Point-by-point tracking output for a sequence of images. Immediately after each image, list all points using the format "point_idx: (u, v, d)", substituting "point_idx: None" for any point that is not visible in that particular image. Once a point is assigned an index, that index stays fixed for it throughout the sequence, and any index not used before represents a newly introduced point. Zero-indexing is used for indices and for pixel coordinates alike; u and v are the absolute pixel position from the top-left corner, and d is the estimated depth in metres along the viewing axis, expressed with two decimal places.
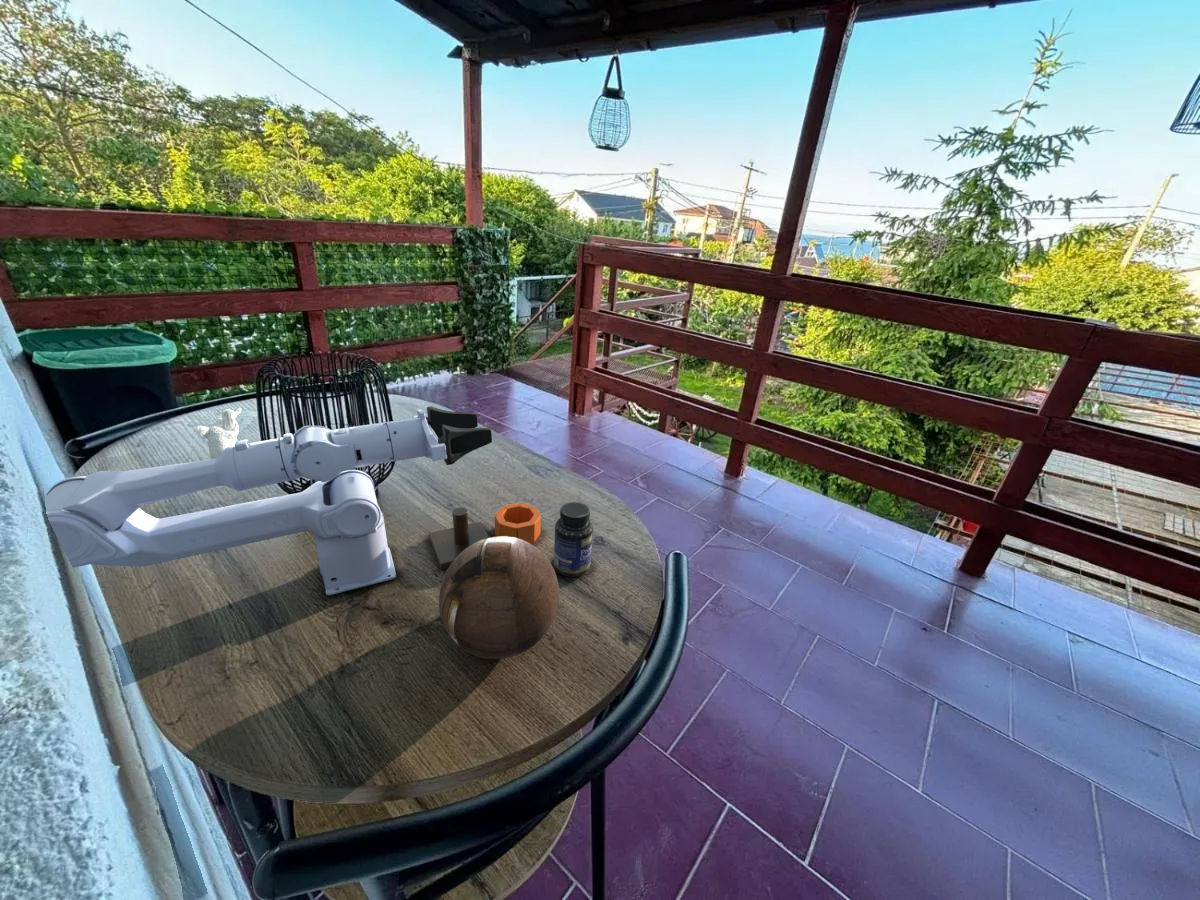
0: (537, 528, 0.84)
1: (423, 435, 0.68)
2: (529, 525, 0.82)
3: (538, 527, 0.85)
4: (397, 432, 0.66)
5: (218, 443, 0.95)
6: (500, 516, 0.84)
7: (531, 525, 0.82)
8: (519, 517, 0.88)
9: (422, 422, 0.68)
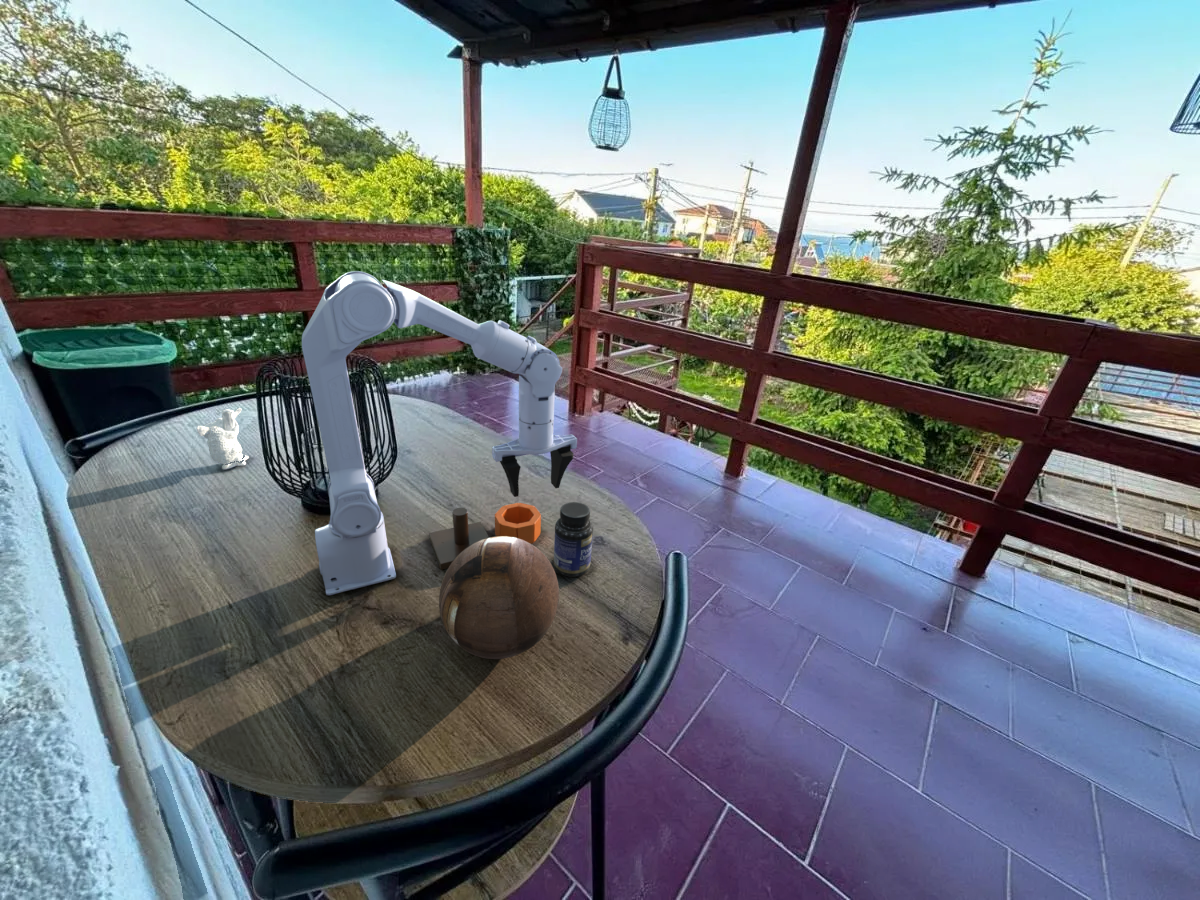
0: (537, 528, 0.84)
1: None
2: (529, 525, 0.82)
3: (538, 527, 0.85)
4: None
5: (218, 443, 0.95)
6: (500, 516, 0.84)
7: (531, 525, 0.82)
8: (519, 517, 0.88)
9: None
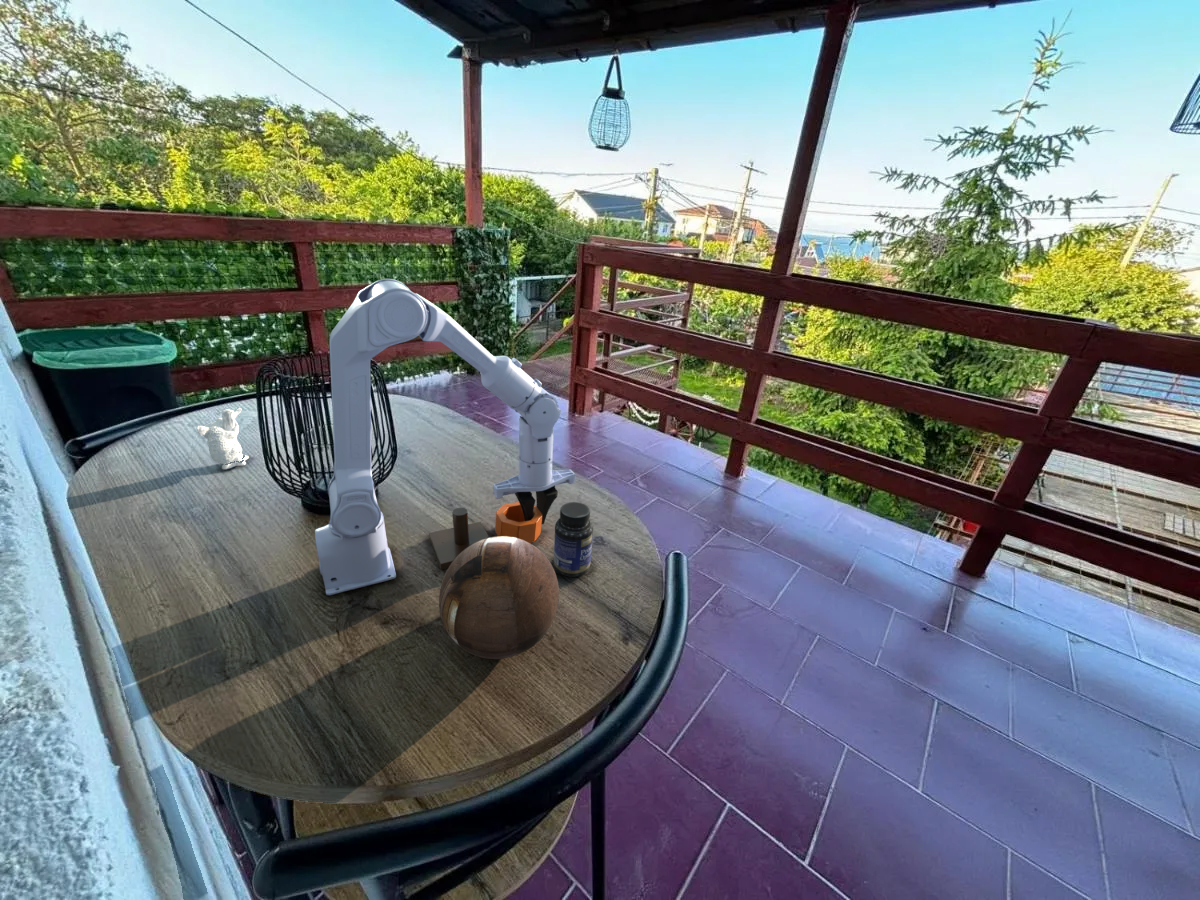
0: (538, 527, 0.84)
1: None
2: (531, 524, 0.82)
3: (539, 527, 0.85)
4: None
5: (218, 443, 0.95)
6: (502, 514, 0.84)
7: (533, 524, 0.82)
8: (520, 516, 0.88)
9: None
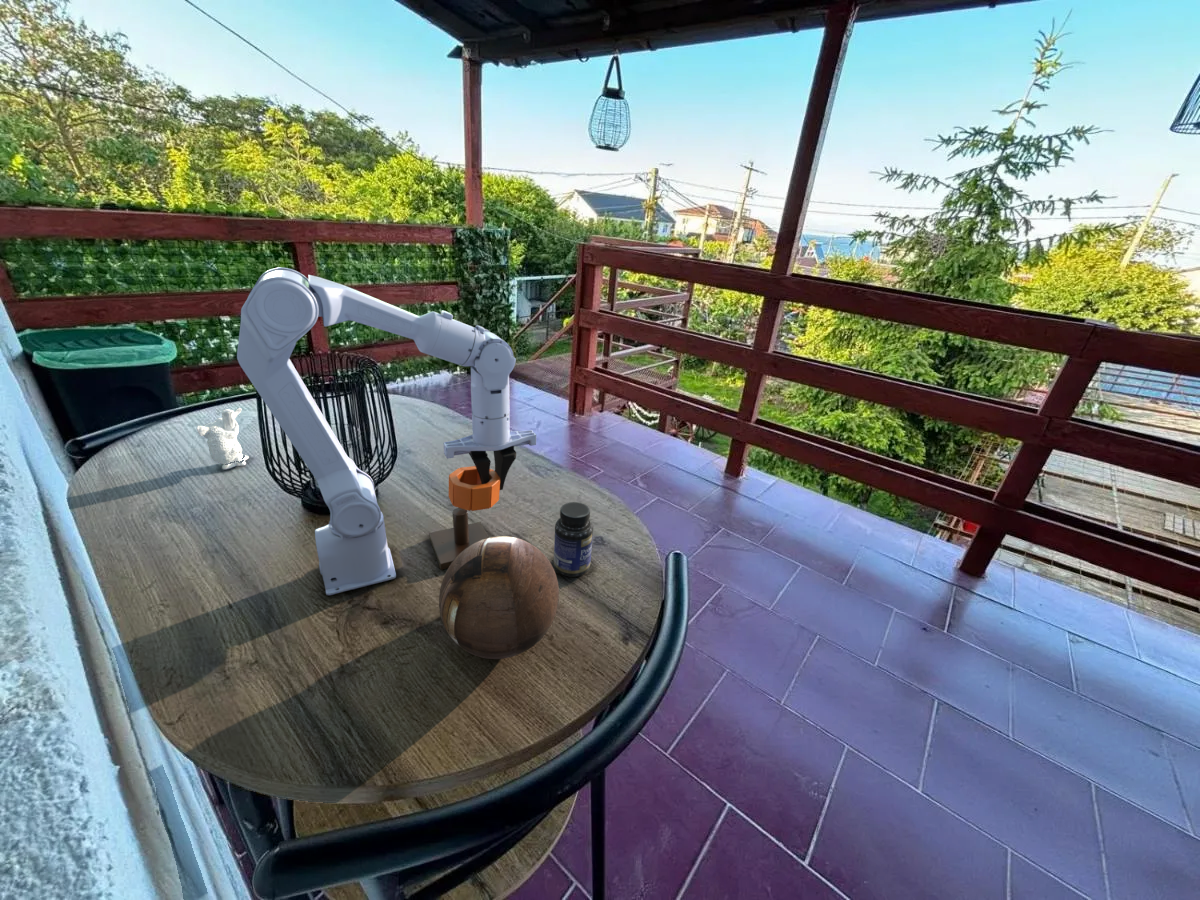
0: (495, 492, 0.77)
1: None
2: (486, 487, 0.75)
3: (496, 492, 0.78)
4: None
5: (218, 443, 0.95)
6: (455, 477, 0.76)
7: (488, 487, 0.75)
8: (477, 482, 0.81)
9: None
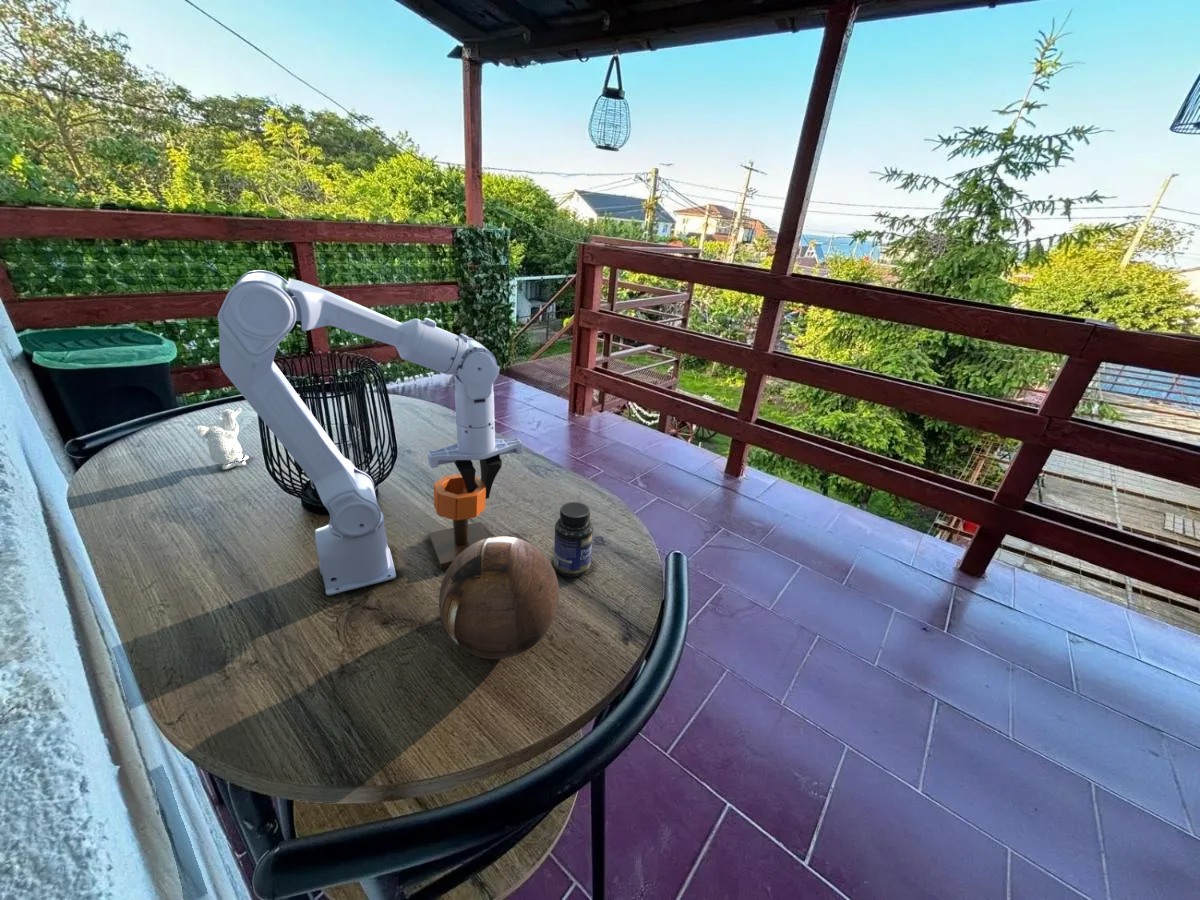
0: (480, 501, 0.76)
1: None
2: (471, 496, 0.74)
3: (482, 501, 0.77)
4: None
5: (218, 443, 0.95)
6: (440, 486, 0.76)
7: (473, 497, 0.74)
8: (463, 490, 0.80)
9: None
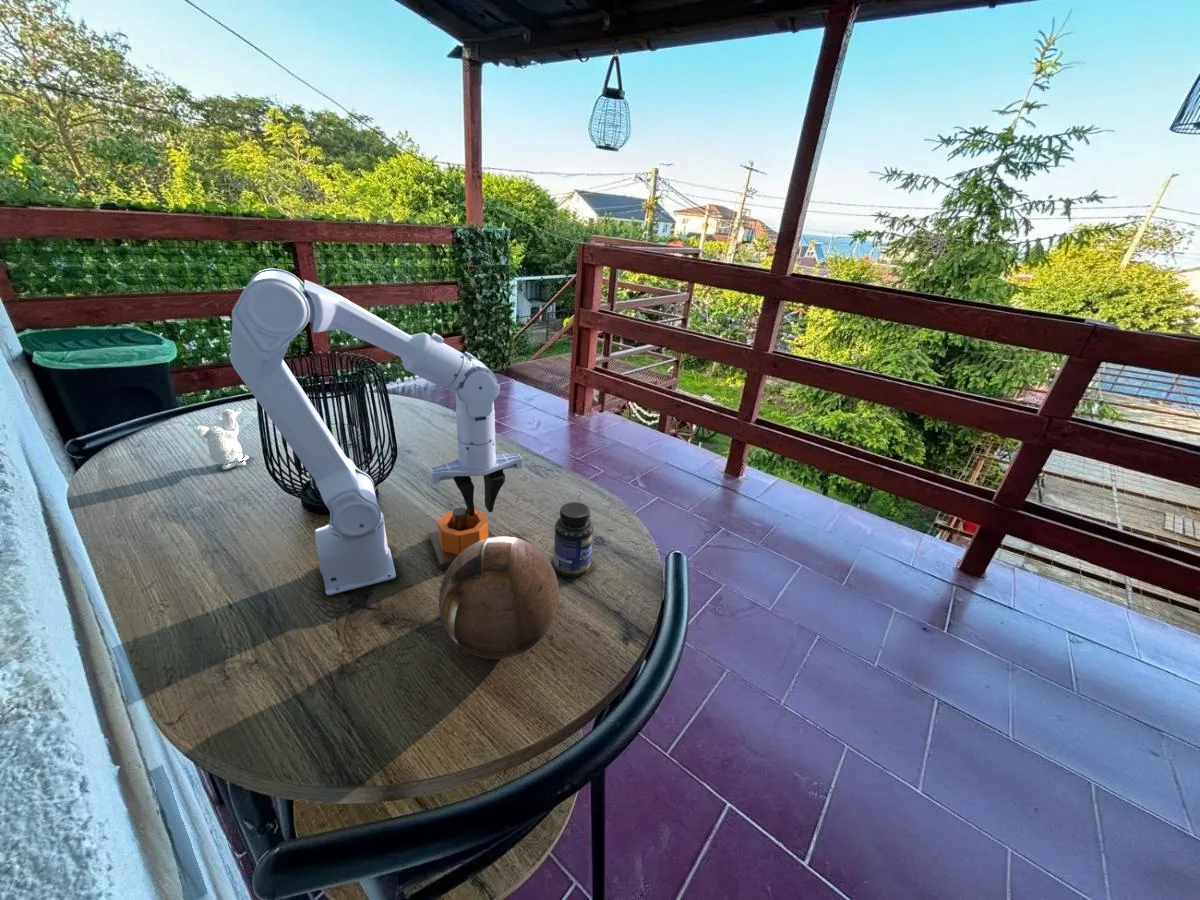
0: (483, 535, 0.79)
1: None
2: (473, 532, 0.77)
3: (484, 534, 0.80)
4: None
5: (218, 443, 0.95)
6: (443, 522, 0.79)
7: (475, 532, 0.77)
8: None
9: None
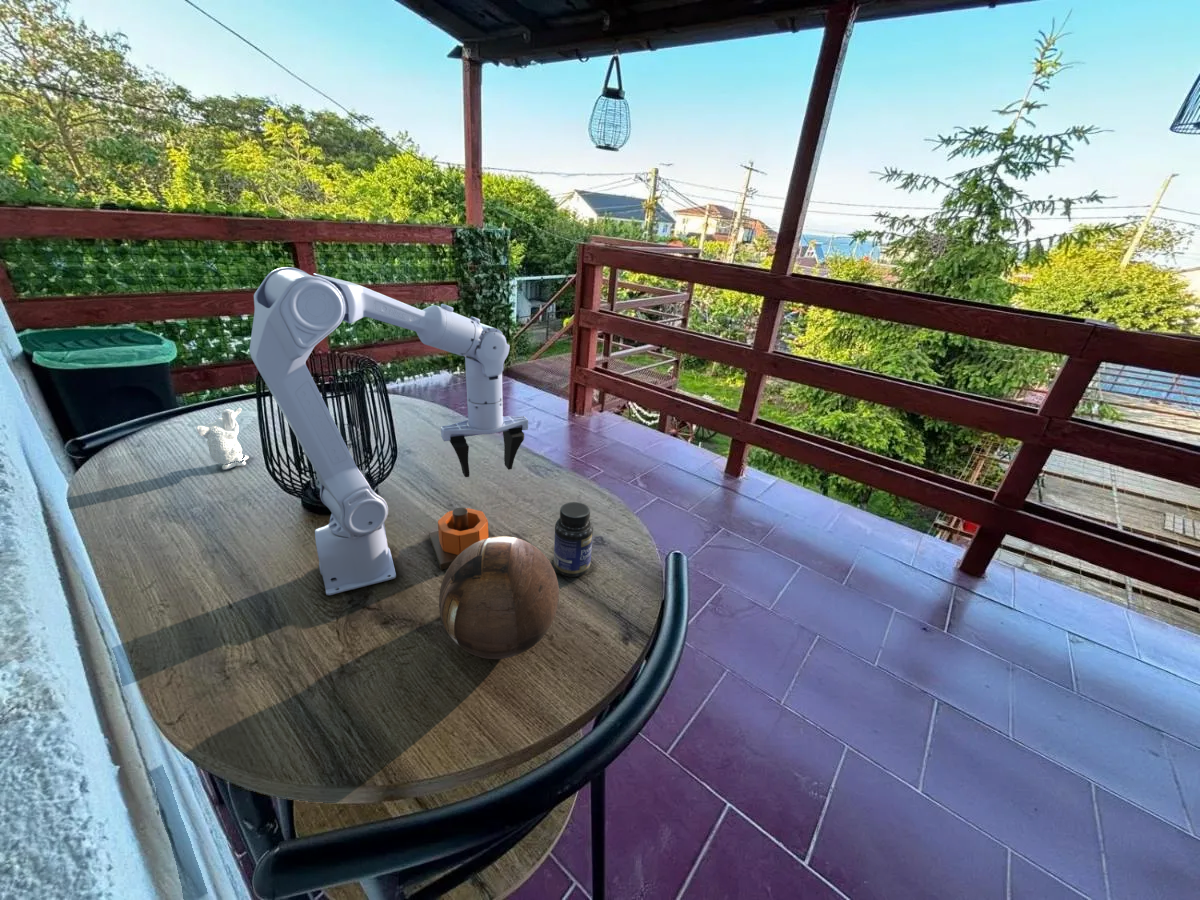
0: (483, 535, 0.79)
1: None
2: (473, 532, 0.77)
3: (484, 534, 0.80)
4: None
5: (218, 443, 0.95)
6: (443, 522, 0.79)
7: (475, 532, 0.77)
8: None
9: None
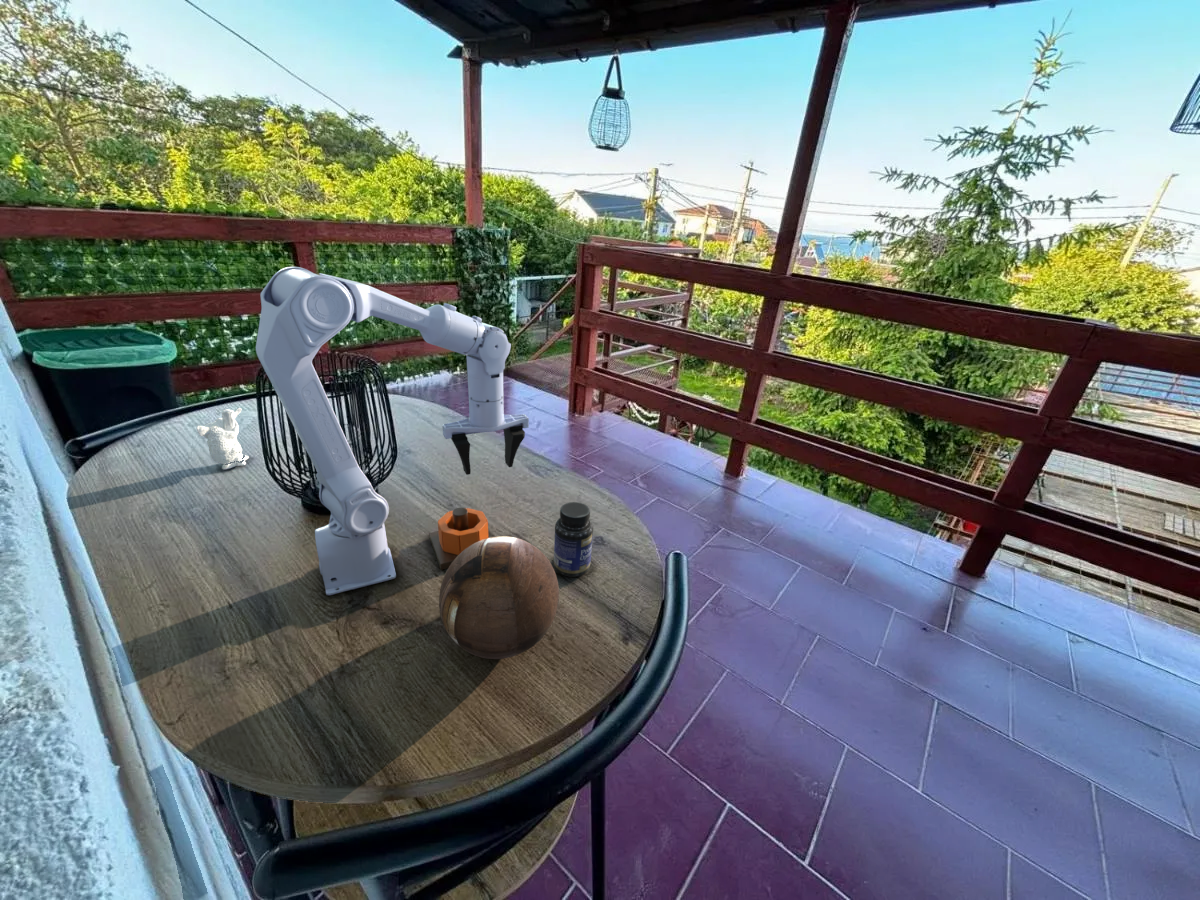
0: (483, 535, 0.79)
1: None
2: (473, 532, 0.77)
3: (484, 534, 0.80)
4: None
5: (218, 443, 0.95)
6: (443, 522, 0.79)
7: (475, 532, 0.77)
8: None
9: None
